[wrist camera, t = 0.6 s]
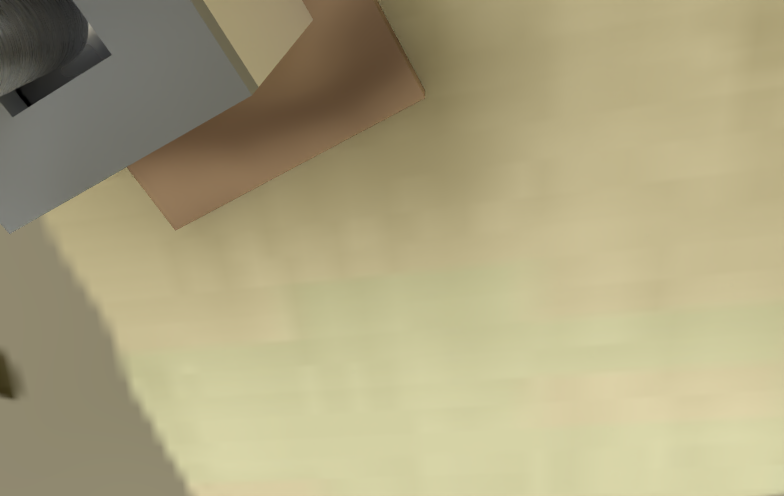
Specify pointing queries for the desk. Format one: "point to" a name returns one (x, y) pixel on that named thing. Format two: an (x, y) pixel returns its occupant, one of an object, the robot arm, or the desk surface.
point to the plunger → (44, 47)
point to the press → (137, 92)
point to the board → (287, 112)
